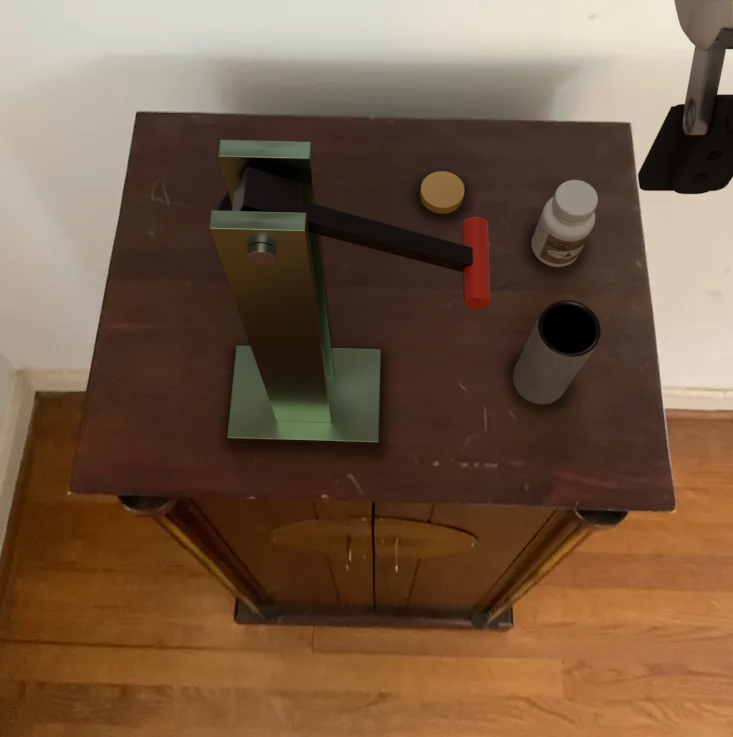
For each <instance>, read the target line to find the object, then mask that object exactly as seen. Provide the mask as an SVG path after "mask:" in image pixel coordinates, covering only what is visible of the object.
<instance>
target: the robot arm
mask: <svg viewBox="0 0 733 737" xmlns="http://www.w3.org/2000/svg"><path fill="white" fill-rule="evenodd" d="M673 1H674V5H675V10H676V16H677V19H678V22H679V26H680V28H681V30H682V32H683V34H684V35H685V36H686V38H687V39H688V40H689V42H690V43H692V44H693V46H694V50H693V56H692V62H691V66H690V71H689V78H688V83H687V88H686V94H685V100H684V103H680V104H676V105H672V106H670V108H669V110H668V112H667V114H666V116H665V118H664V120H663V122H662V124H661V126H660V129H659V130H658V132H657V134H656V136H655V138H654V141H653V143H652V144H651V146H650V148H649V151H648V153H647V155H646V157H645V159H644V161H643V163H642V164H641V167H640V169H639V171H638V173H637V179H638V187H639V188H640V190H641V191H645V192H646V191H647V192H675V193H677V194H678V195H702V194H707V193H709V192H716V191H720V190H723V189H725V188H727V186H728V185H729V183H730V182H731V181H732V179H733V94H732V93H731V94H724V93H723V94H718V92H719V88H720V83H721V77H722V72H723V68H724V63H725V56H726V53H727V52H726V51H727V50H733V0H673Z"/></svg>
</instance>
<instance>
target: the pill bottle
mask: <svg viewBox="0 0 733 737" xmlns="http://www.w3.org/2000/svg"><path fill="white" fill-rule="evenodd" d="M553 195H554V196H552V197H551V198H549V199H548V200H547V202H546V203H545V205H544V207H543V209H542V212H541V214H540V217H539V220H538V223H537V225H536V227H535V229H534V232H533V235H532V237H531V238H532V239H531V250H532V252H533V254H534V256H535V257H536V258H537V260H538V261H540V262H541V263H543V264H545V265H547V266H549V267H553V268H562V267H566V266H569V265H571V264H573V263H574V262H575V261H576V260H577V259H578V257H579V256H580V254H581V252H582V251H583V248H584V246H585V244H586V242H587V240H588V238H589V236H590V235H591V232H592V230H593V228H594V226H595V224H596V212H595V211H596V209H597V206H598V203H599V197H598V193H597V191H596V190H595V189H594V187H593V186H592V185H591V184H589V183H588V182H586V181H584V180H579V179H570V180H566V181H565V182H563V183H561V184H560V185H559V186H558V187H557V188H556V190H555V193H554V194H553Z"/></svg>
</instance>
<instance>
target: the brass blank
mask: <svg viewBox="0 0 733 737" xmlns="http://www.w3.org/2000/svg"><path fill="white" fill-rule="evenodd" d="M464 196H465V185H464V182H463V181H462V179H461V178H460V177H459V176H457V174H454V173H453V172H451V171H446V170H440V171H439V170H438V171H433V172H432V173H429V174H428V175H426V177H425V178H423V180H422V182H421V185H420V191H419V197H420V202H421V204H422V205H423V206H424V207H425V208H426V209H427V210H428V211H430V212H433V213H435V214H440V215H445V214H450V213H453V212H455V211H456V210H457V209H459V207H461V206H462V204H463V202H464Z"/></svg>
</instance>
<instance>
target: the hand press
mask: <svg viewBox="0 0 733 737" xmlns="http://www.w3.org/2000/svg"><path fill="white" fill-rule="evenodd" d="M217 157H218V160H219V165H220V168H221V172H222V175H223V178H224V182H225V185H226V186H225V187H226V189H227V191H228V193H229V196H230V200H231V203H232V207H233V198H234V192H235V190H236V188H237V186H238V184H239V182H240V180H241V178H242V176H243V174H244V172H245V170H246V168H247V167H251V168H255V169H258V170H262V171H265V172H268V173H272V174H275V175H279V176H282V177H286V178H289V179H293V180H296V181H300V182H302V192H301V200H303V201H306V202H310V203H313V204H317V205H319V204H318V194H317V183H316V175H315V165H314V155H313V144H312V142H311V141H296V140H295V141H291V140H287V141H286V140H254V139H253V140H251V139H250V140H249V139H248V140H247V139H246V140H245V139H220V140H219V145H218V154H217ZM208 228H209V232H210V235H211V237H212V240H213V244H214V246H215V249H216V253H217V254H218V257H219V260H220V263H221V266H222V269H223V272H224V275H225V277H226V281H227V283H228V286H229V289H230V292H231V295H232V298H233V300H234V303H235V306H236V309H237V313H238V315H239V318H240V320H241V323H242V327H243V329H244V332H245V335H246V337H247V341H248V343H249V345H236V346H235V355H234V365H233V376H232V386H231V396H230V403H229V404H230V405H229V416H228V425H227V435H226V439H227V440H228V442H229V443H230V444H245V445H282V446H283V445H284V446H286V445H287V446H314V447H315V446H317V447H319V446H320V447H321V446H322V447H355V448H356V447H357V448H379V444H380V439H379V438H380V406H381V405H380V403H381V402H380V399H381V367H382V366H381V362H382V350H381V349H380V348H379V349H378V348H377V349H376V348H347V347H346V348H344V347H343V348H342V347H333V340H332V331H331V330H332V329H331V321H330V320H331V319H330V310H329V302H328V300H329V299H328V292H327V283H326V281H327V280H326V273H325V264H324V263H325V261H324V253H323V242H322V235H318V234H314V233H310V232H309V229H308V222H307V214H306V213H293V212H253V211H232V210H230V211H218V210H211V212H210V218H209V226H208Z"/></svg>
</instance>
